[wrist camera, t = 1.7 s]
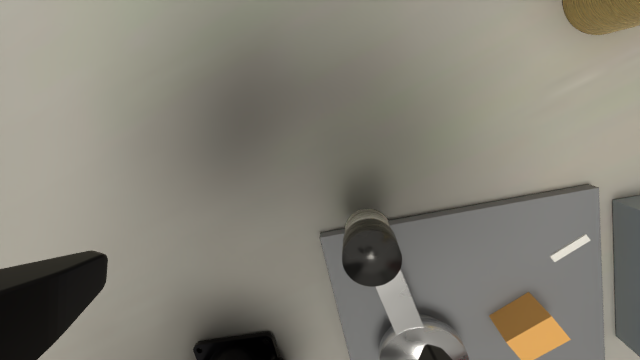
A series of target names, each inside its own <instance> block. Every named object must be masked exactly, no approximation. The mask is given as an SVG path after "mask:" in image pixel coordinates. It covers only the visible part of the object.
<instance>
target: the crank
mask: <svg viewBox="0 0 640 360" xmlns="http://www.w3.org/2000/svg"><path fill="white" fill-rule="evenodd" d="M342 264H343V268H344V270H345V272H346V274H347V275H348V276H349V277H350V278H351V279H352V280H353V281H355V282H356V283H358V284H360V285H363V286H369V287H376V289H377V292H378V294H379V296H380V299H381V301H382V303H383V306H384V308H385V310H386V313H387V315H388V317H389V320H390V322H391V324H392V327H391V328H390V329H389V330H388V331H387V332H386V333H385V334H384V336H383V337H382V339H381V342H380V345H379V360H418V359H419V356H420V354H421V351H422V349H423V347H424V346H425V345H426V344H430V345H434V346H437V347H440V348H442V349H443V350H444V351H445V352H446V353H447V354H448V355H449V356H450V357H451V358H452V360H469V357H468V354H467V351H466V349H465V347H464V345H463V343H462V341H461V339H460V337H459V335H458V334H457V333H456V332H455V331H454V329H452V328H451V327H450V326H448V325H447V324H445V323H443V322H441V321H439V320H436V319H432V318H425V317H420V315H419V312H418V310H417V307H416V305H415V302H414V300H413V297H412V295H411V292H410V290H409V287H408V285H407V283H406V280H405V278H404V275H403V273H402V270H401V265H402V254H401V251H400V248H399V245H398V242H397V239H396V236H395V234H394V232H393V230H392V229H391V227H390V224H389V222H388V220H387V218H386V217H385V216H384V215H383V214H382V213H380V212H379V211H377V210H373V209H362V210H359V211H356V212H355V213H353V214H352V215H351V216H350V217H349V219H348V220H347V223H346V226H345V234H344V237H343V249H342Z"/></svg>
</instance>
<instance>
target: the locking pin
mask: <svg viewBox="0 0 640 360" xmlns="http://www.w3.org/2000/svg"><path fill="white" fill-rule="evenodd" d="M563 8H564V12H565V15H566V17H567V19H568V20H569V22H570V23H571V24H572V25H573V26H574V27H575V28H576V29H578V30H580V31H582V32H584V33H587V34H592V35H603V34H608V33H612V32H616V31H620V30H623V29H627V28H631V27H635V26H639V25H640V0H563Z"/></svg>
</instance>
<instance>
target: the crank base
mask: <svg viewBox="0 0 640 360" xmlns="http://www.w3.org/2000/svg"><path fill="white" fill-rule="evenodd" d="M388 222H389V224H390V227H391V229H392V230H393V232H394V234H395V236H396V239H397V242H398V245H399V248H400V251H401V254H402V265H401V270H402V273H403V275H404V278H405V280H406V283H407V285H408V287H409V290H410V292H411V295H412V297H413V300H414V302H415V305H416V307H417V310H418V312H419V315H420V317H425V318H432V319H436V320H439V321H441V322H443V323H445V324H447V325H448V326H450V327H451V328H452V329H454V331H455V332H456V333H457V334H458V335H459V337H460V339H461V341H462V343H463V345H464V347H465V349H466V351H467V354H468V357H469V360H605V347H604V319H603V291H602V263H601V235H600V207H599V188H598V187H595V186H592V185H589V184H588V185H582V186H577V187H571V188H566V189H560V190H554V191H549V192H543V193H538V194H532V195H527V196H521V197H516V198H510V199H505V200H499V201H494V202H488V203H483V204H477V205H472V206H466V207H461V208H455V209H450V210H444V211H439V212H433V213H428V214H422V215H417V216H411V217H406V218H400V219H395V220H389V221H388ZM344 234H345V229H340V230H334V231H329V232H323V233H321V234H320V241H321V245H322V249H323V253H324V257H325V261H326V265H327V269H328V273H329V277H330V281H331V285H332V289H333V293H334V297H335V301H336V305H337V309H338V313H339V317H340V321H341V325H342V329H343V333H344V337H345V341H346V345H347V349H348V352H349V356H350V360H379V345H380V342H381V339H382V337H383V336H384V334H385V333H386V332H387V331H388V330H389V329H390V328H391V327H392V324H391V322H390V320H389V317H388V315H387V313H386V310H385V308H384V306H383V303H382V301H381V299H380V296H379V294H378V292H377V289H376V287H369V286H363V285H360V284H358V283H356V282H355V281H353V280H352V279H351V278H350V277H349V276H348V275H347V274H346V272H345V270H344V268H343V264H342V249H343V237H344Z"/></svg>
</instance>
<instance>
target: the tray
mask: <svg viewBox="0 0 640 360" xmlns="http://www.w3.org/2000/svg"><path fill="white" fill-rule="evenodd" d="M613 236H614V275H615V313H616V336H617V337H618V338H619V339H620V340H621V341H622V342H624V343H625V344H626V345H627V346H628V347H629V348H630V349H631V350H633V351H634V352H635V353H636V354H637V355H638V356H639V357H640V195H639V196H633V197H627V198H621V199H616V200H613Z"/></svg>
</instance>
